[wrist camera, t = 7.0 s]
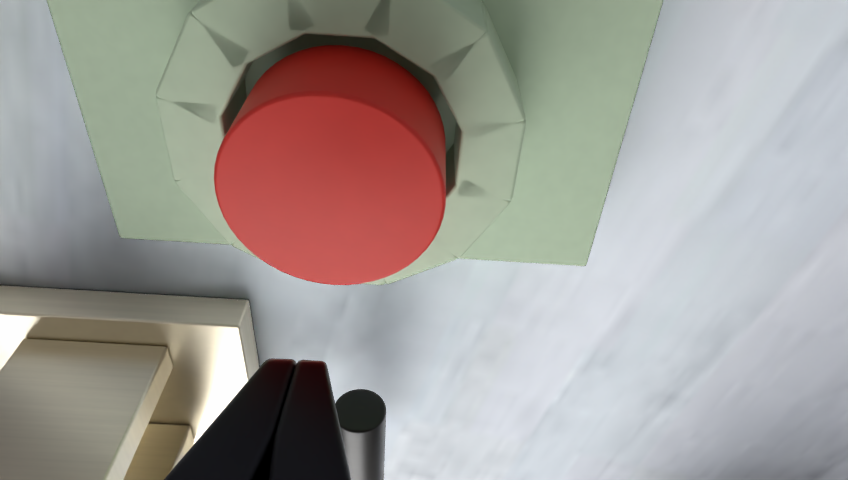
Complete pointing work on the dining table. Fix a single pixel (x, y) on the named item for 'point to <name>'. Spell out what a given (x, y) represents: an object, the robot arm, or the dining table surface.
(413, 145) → the red push button
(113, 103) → the button box
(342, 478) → the robot arm
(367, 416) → the switch lever
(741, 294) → the dining table surface
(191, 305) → the switch bracket
